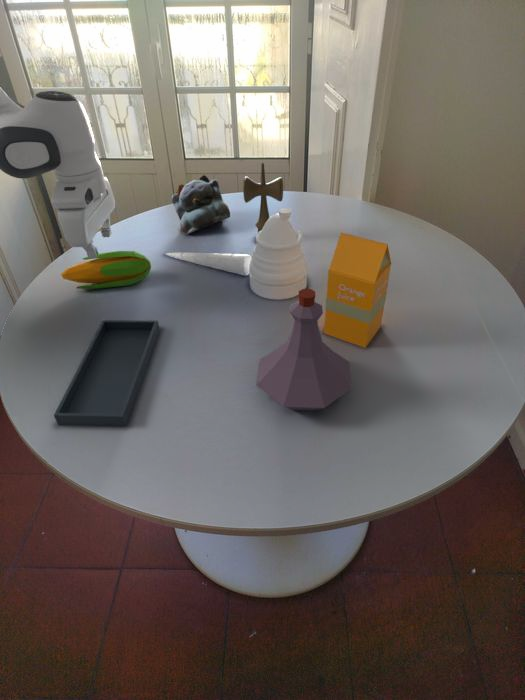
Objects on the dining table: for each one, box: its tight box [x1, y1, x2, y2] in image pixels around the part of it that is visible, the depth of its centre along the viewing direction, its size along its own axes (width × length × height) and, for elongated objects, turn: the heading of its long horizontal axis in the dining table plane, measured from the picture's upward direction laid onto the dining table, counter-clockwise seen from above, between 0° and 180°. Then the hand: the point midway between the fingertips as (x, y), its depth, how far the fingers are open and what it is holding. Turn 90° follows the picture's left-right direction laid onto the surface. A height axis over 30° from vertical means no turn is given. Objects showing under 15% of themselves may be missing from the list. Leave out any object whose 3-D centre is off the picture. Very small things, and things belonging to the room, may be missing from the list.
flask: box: [256, 288, 353, 411], centre depth 74 cm, size 16×16×20 cm
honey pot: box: [248, 207, 308, 300], centre depth 100 cm, size 13×13×18 cm
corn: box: [60, 250, 152, 290], centre depth 106 cm, size 7×8×20 cm
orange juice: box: [323, 232, 392, 349], centre depth 86 cm, size 8×9×20 cm
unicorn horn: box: [165, 252, 252, 277], centre depth 113 cm, size 5×24×5 cm, turn 61°
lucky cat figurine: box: [170, 174, 231, 235], centre depth 127 cm, size 15×12×14 cm
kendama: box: [242, 162, 284, 242], centre depth 116 cm, size 6×10×20 cm, turn 87°
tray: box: [53, 319, 161, 428], centre depth 84 cm, size 11×25×3 cm, turn 177°
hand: (100, 245), depth 102 cm, fingers open, 8 cm apart
